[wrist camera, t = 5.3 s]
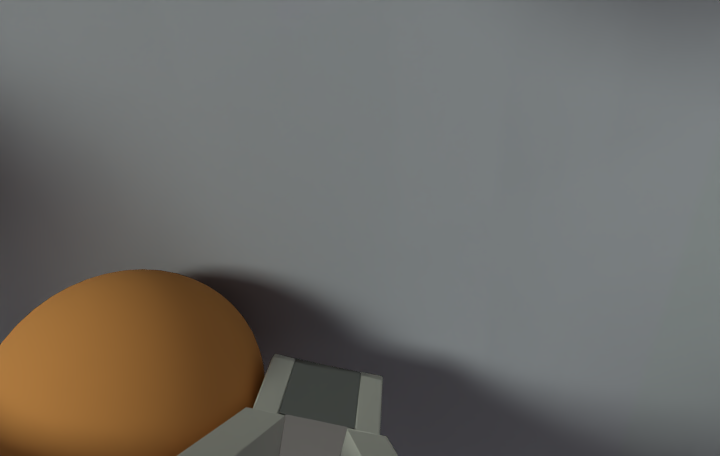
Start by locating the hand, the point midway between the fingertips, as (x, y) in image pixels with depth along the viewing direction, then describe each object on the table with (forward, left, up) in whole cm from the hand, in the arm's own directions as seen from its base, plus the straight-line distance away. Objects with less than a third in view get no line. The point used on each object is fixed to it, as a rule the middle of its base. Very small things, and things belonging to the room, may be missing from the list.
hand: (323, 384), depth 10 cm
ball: (0, -4, +1) cm, 4 cm away
